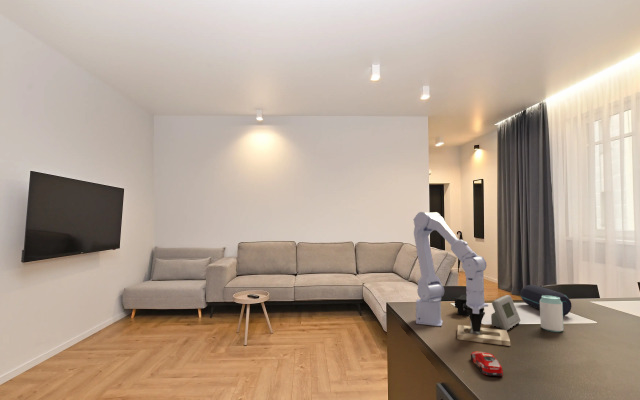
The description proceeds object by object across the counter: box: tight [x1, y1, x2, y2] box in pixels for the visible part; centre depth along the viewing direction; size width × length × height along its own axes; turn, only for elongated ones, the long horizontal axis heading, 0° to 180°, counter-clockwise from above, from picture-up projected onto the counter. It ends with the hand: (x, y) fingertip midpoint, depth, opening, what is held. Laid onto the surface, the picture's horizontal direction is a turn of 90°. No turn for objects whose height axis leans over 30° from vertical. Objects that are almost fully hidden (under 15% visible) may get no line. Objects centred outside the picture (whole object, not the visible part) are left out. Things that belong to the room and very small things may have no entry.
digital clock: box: [490, 294, 521, 331], centre depth 132 cm, size 16×9×11 cm, turn 123°
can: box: [539, 296, 565, 333], centre depth 126 cm, size 7×7×12 cm
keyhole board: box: [456, 324, 511, 347], centre depth 118 cm, size 16×12×2 cm
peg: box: [469, 323, 481, 335], centre depth 119 cm, size 3×3×8 cm
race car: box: [470, 350, 504, 377], centre depth 94 cm, size 13×5×4 cm, turn 171°
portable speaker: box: [520, 284, 573, 317], centre depth 153 cm, size 25×10×10 cm, turn 0°
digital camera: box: [454, 294, 469, 317], centre depth 150 cm, size 10×5×7 cm, turn 147°
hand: (476, 329), depth 119 cm, fingers closed on peg, 3 cm apart
